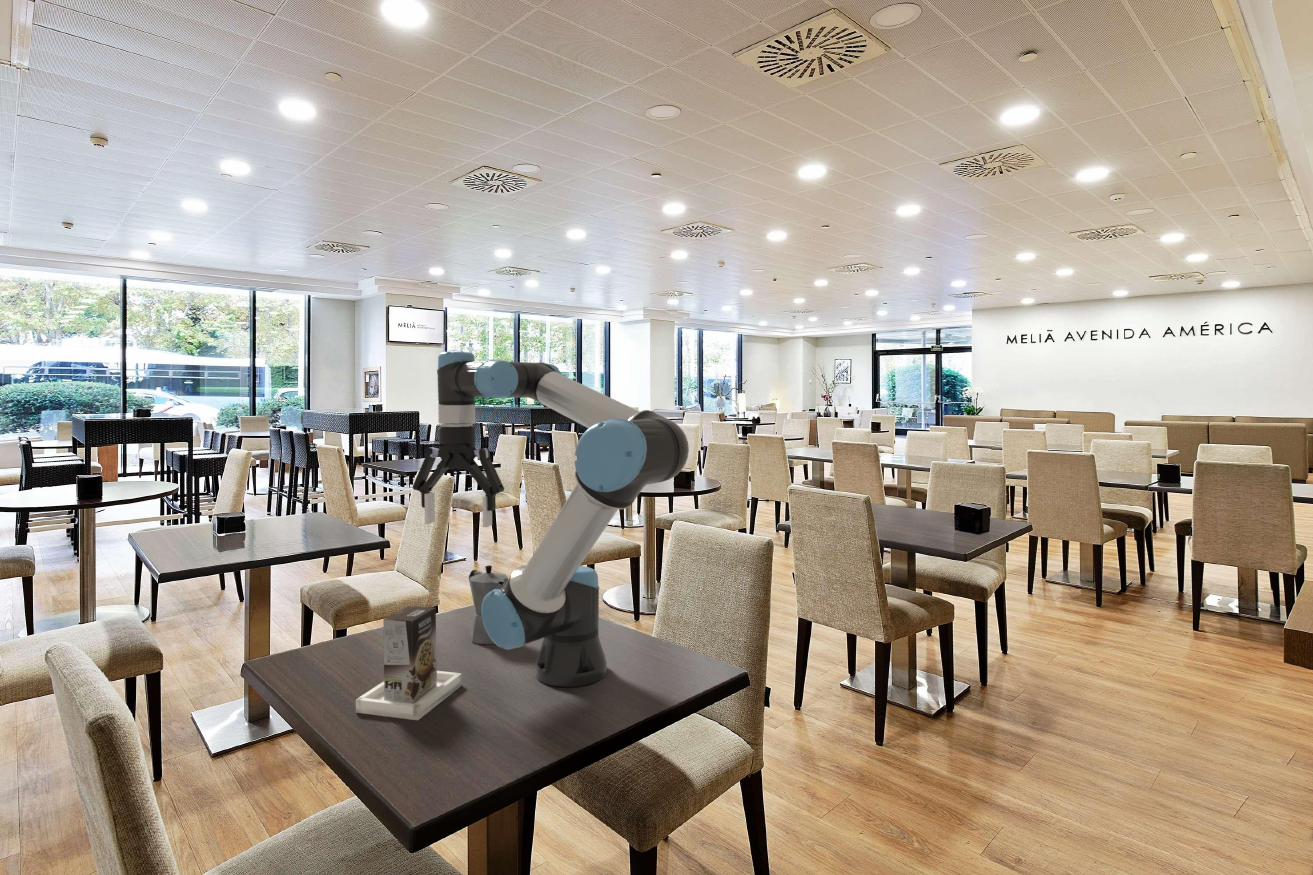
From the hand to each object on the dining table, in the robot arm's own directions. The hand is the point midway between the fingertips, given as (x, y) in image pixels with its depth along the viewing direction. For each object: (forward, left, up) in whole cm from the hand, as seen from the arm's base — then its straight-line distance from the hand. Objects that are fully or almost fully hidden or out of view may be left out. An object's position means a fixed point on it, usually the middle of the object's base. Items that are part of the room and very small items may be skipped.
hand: (458, 524), depth 151 cm
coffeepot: (+4, -20, -32) cm, 38 cm away
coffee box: (+2, +16, -31) cm, 35 cm away
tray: (+2, +16, -32) cm, 35 cm away
